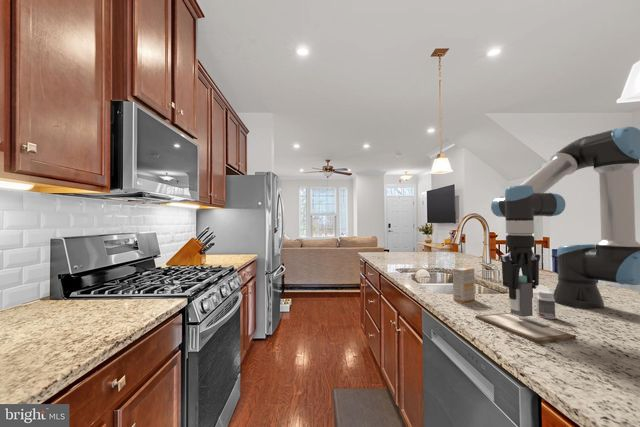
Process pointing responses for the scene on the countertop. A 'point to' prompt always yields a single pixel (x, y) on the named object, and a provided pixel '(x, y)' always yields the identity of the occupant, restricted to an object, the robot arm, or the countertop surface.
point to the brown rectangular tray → (526, 327)
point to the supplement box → (463, 284)
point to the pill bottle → (546, 305)
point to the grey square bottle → (524, 297)
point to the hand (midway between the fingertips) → (521, 309)
